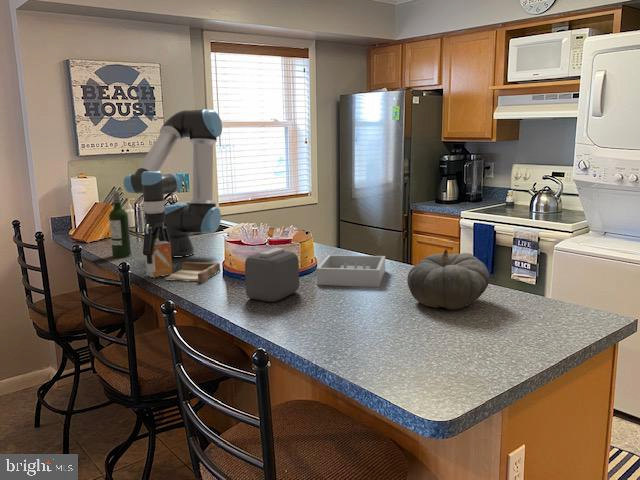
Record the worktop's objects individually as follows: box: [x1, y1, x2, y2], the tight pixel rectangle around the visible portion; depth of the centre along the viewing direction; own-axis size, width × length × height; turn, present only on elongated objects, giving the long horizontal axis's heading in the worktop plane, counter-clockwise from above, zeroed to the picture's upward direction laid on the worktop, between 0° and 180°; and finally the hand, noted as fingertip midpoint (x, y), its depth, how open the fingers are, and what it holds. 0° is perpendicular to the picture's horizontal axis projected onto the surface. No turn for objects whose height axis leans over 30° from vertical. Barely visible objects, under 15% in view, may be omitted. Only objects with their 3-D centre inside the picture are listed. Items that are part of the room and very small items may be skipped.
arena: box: [164, 261, 221, 283], centre depth 212 cm, size 17×16×4 cm
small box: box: [144, 240, 173, 277], centre depth 214 cm, size 8×6×13 cm
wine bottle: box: [108, 189, 132, 259], centre depth 249 cm, size 8×8×30 cm
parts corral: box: [315, 254, 386, 288], centre depth 205 cm, size 22×22×6 cm
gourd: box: [406, 248, 491, 311], centre depth 171 cm, size 25×25×17 cm
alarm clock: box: [244, 247, 300, 303], centre depth 182 cm, size 16×11×16 cm
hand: (159, 268), depth 214 cm, fingers open, 11 cm apart
